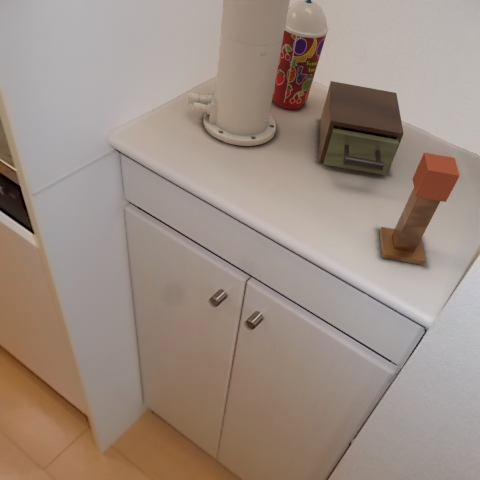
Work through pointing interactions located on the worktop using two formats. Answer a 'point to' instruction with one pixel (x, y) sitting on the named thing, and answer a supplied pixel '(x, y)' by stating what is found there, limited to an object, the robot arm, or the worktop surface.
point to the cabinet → (359, 113)
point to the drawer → (360, 150)
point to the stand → (409, 231)
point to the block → (435, 177)
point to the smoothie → (299, 53)
